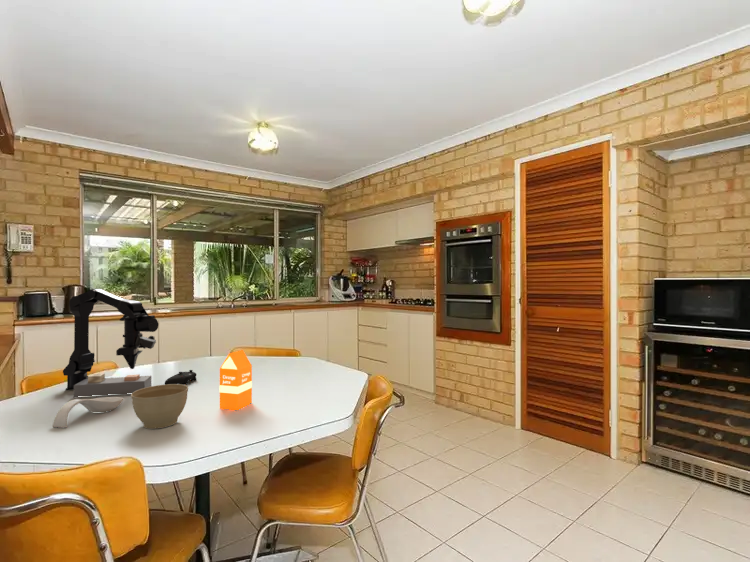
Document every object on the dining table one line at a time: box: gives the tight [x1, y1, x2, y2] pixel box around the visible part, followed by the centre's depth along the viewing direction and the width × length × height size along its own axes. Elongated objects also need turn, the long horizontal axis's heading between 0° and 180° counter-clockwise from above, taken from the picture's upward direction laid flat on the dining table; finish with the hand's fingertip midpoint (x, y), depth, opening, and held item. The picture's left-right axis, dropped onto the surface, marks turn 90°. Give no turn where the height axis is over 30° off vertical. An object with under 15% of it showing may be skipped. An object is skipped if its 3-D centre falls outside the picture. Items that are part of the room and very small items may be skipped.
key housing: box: [73, 375, 152, 398], centre depth 165 cm, size 25×10×5 cm, turn 105°
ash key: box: [87, 373, 106, 383], centre depth 163 cm, size 4×4×4 cm
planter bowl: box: [130, 384, 189, 430], centre depth 128 cm, size 16×16×11 cm
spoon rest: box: [52, 396, 124, 429], centre depth 136 cm, size 24×12×7 cm, turn 174°
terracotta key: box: [123, 374, 141, 381], centre depth 167 cm, size 4×4×4 cm
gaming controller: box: [164, 369, 197, 385], centre depth 182 cm, size 14×6×10 cm
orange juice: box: [219, 349, 253, 411], centre depth 146 cm, size 8×9×20 cm
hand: (132, 368), depth 167 cm, fingers closed
